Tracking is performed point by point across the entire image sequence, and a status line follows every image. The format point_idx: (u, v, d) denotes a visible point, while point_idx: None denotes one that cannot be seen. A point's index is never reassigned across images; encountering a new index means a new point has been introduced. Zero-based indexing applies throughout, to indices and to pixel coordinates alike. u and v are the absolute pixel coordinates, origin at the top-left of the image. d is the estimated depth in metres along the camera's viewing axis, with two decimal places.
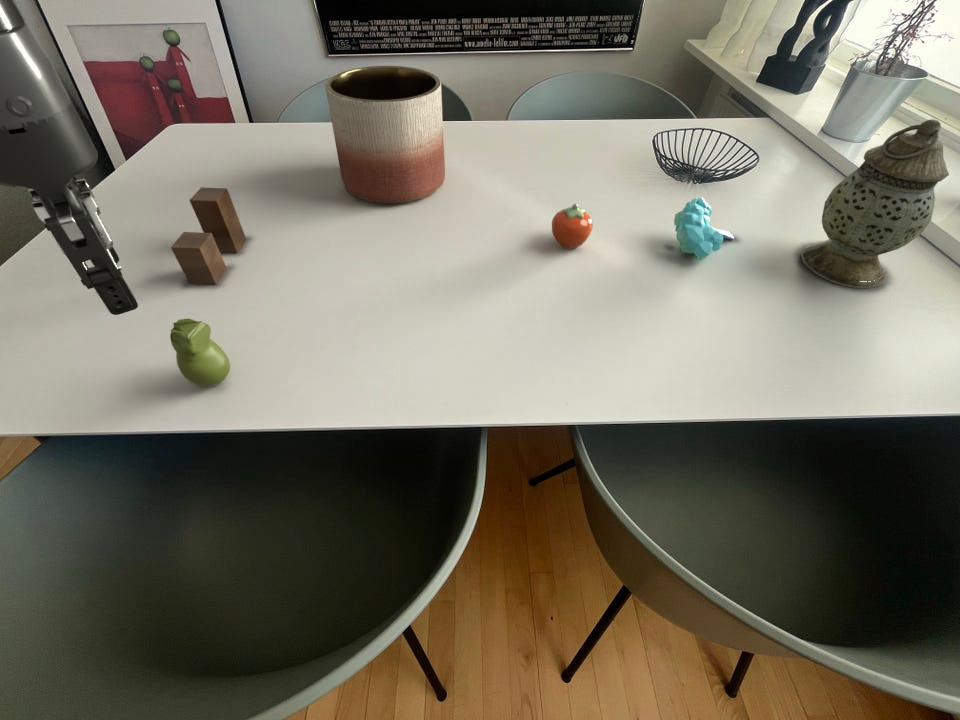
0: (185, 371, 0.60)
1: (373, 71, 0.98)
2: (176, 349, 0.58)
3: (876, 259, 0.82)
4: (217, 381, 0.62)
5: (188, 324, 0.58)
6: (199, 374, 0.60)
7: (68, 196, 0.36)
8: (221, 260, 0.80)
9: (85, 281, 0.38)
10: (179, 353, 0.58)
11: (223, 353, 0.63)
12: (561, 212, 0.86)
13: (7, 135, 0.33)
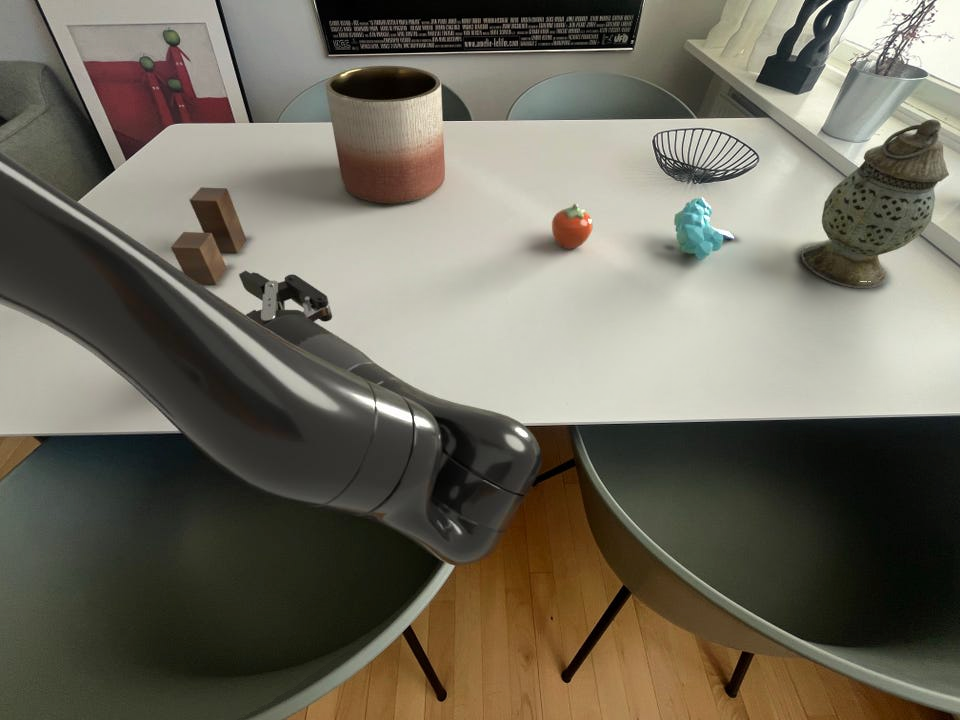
0: None
1: (373, 71, 0.98)
2: None
3: (876, 259, 0.82)
4: None
5: None
6: None
7: None
8: (221, 260, 0.80)
9: None
10: None
11: None
12: (561, 212, 0.86)
13: None
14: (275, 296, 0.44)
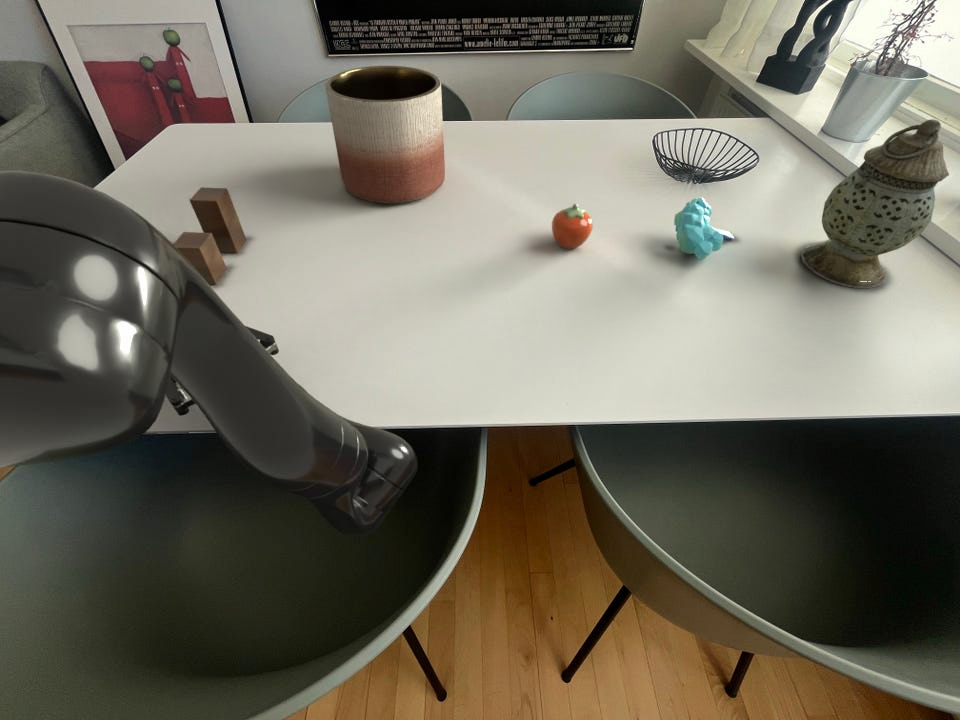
0: None
1: (373, 71, 0.98)
2: None
3: (876, 259, 0.82)
4: None
5: None
6: None
7: None
8: (221, 260, 0.80)
9: None
10: None
11: None
12: (561, 212, 0.86)
13: None
14: None
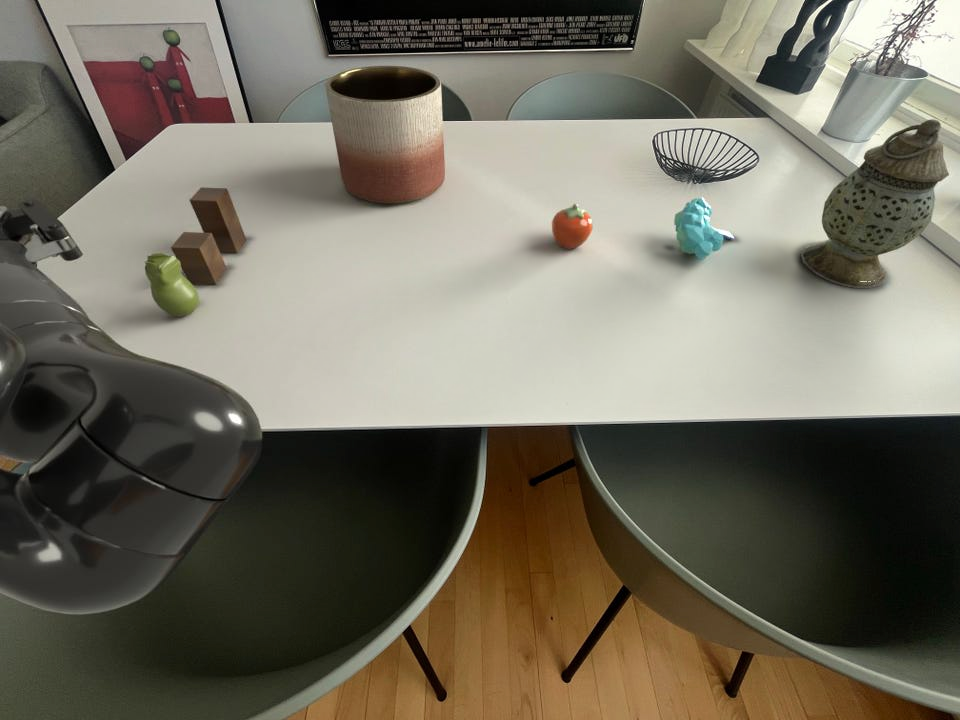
0: (158, 299, 0.69)
1: (373, 71, 0.98)
2: (150, 278, 0.67)
3: (876, 259, 0.82)
4: (187, 311, 0.72)
5: (160, 257, 0.68)
6: (170, 303, 0.70)
7: None
8: (221, 260, 0.80)
9: None
10: (152, 282, 0.68)
11: (192, 287, 0.72)
12: (561, 212, 0.86)
13: None
14: None
